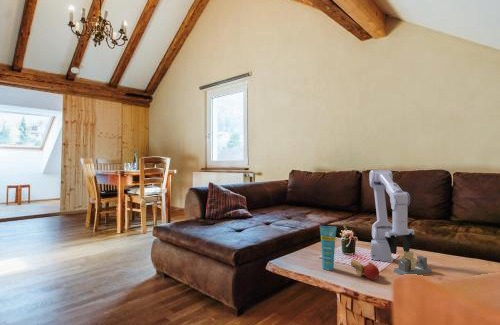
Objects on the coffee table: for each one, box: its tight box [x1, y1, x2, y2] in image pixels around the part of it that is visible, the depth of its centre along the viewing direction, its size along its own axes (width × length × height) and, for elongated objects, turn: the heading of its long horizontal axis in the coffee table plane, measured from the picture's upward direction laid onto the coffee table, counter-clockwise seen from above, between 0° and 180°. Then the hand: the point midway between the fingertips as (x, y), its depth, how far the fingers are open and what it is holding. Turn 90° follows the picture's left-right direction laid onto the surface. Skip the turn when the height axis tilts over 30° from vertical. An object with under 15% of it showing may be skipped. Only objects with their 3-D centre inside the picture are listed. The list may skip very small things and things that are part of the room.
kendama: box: [350, 259, 380, 281], centre depth 126 cm, size 8×6×18 cm
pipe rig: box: [393, 255, 433, 276], centre depth 127 cm, size 15×6×6 cm, turn 111°
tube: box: [319, 225, 337, 271], centre depth 131 cm, size 7×5×19 cm, turn 73°
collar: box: [401, 250, 416, 270], centre depth 126 cm, size 2×5×7 cm, turn 21°
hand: (399, 252), depth 124 cm, fingers open, 7 cm apart
